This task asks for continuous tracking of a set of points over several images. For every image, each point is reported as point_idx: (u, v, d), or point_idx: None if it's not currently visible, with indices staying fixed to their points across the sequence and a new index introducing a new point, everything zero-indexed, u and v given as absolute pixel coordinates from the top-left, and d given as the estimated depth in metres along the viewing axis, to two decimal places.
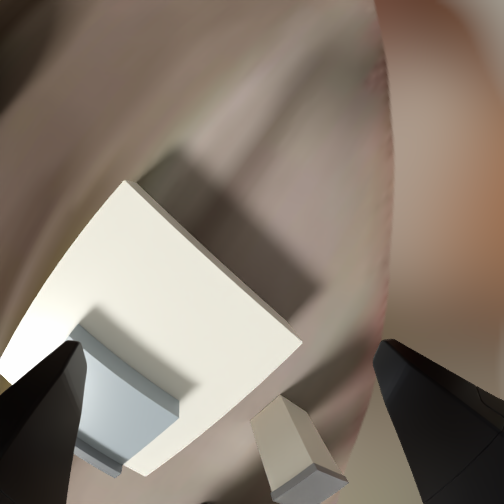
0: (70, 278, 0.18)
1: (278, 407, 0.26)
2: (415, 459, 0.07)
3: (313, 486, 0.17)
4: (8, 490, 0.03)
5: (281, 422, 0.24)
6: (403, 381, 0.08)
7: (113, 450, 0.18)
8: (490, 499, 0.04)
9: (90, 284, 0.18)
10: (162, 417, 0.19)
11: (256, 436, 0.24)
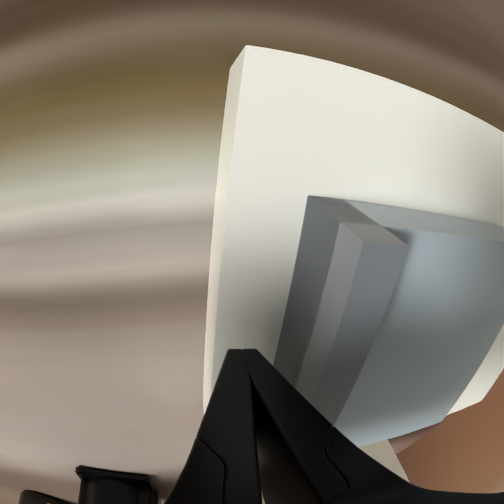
0: None
1: None
2: (266, 496, 0.06)
3: None
4: None
5: (383, 455, 0.18)
6: None
7: None
8: None
9: None
10: (439, 414, 0.11)
11: None
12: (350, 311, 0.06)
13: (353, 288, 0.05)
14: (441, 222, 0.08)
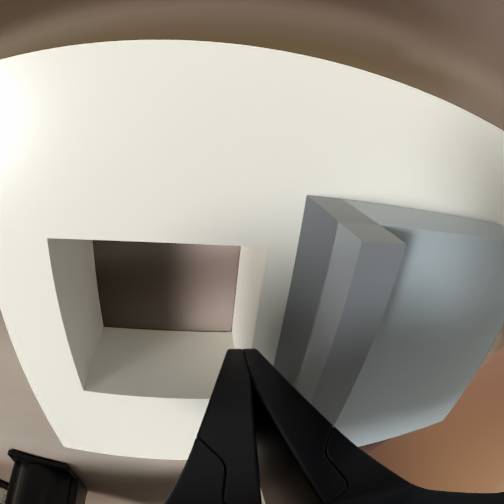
0: (403, 127, 0.07)
1: None
2: (266, 496, 0.06)
3: None
4: None
5: None
6: None
7: None
8: None
9: (413, 176, 0.08)
10: (440, 413, 0.11)
11: None
12: (349, 310, 0.06)
13: (352, 287, 0.05)
14: (441, 221, 0.08)
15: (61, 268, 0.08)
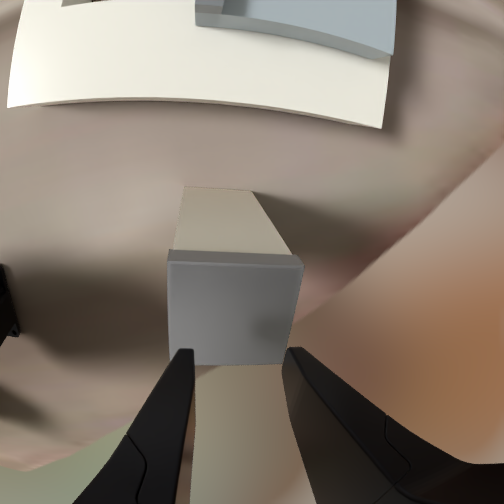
0: None
1: (243, 195, 0.18)
2: (317, 488, 0.06)
3: (252, 304, 0.10)
4: None
5: (241, 204, 0.16)
6: (301, 397, 0.07)
7: None
8: None
9: None
10: (380, 33, 0.10)
11: (185, 197, 0.16)
12: None
13: None
14: None
15: None
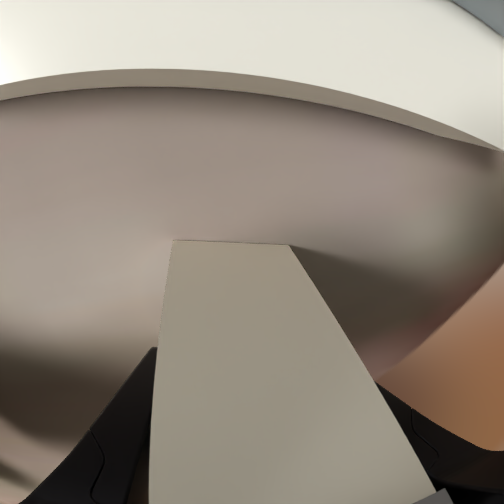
0: None
1: (279, 260, 0.10)
2: None
3: None
4: None
5: (282, 292, 0.08)
6: None
7: None
8: None
9: None
10: None
11: (174, 276, 0.08)
12: None
13: None
14: None
15: None
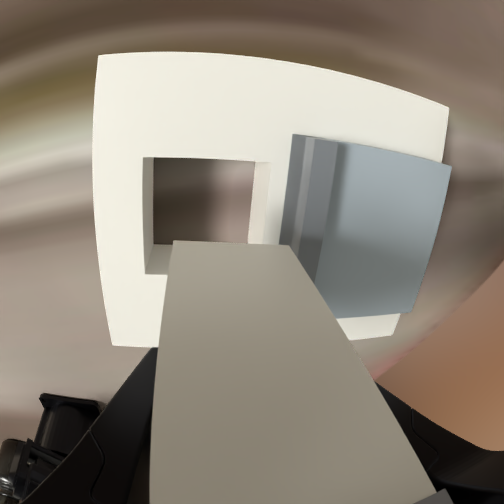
0: (345, 97, 0.14)
1: (279, 261, 0.10)
2: None
3: None
4: None
5: (283, 292, 0.08)
6: None
7: (322, 296, 0.16)
8: None
9: (354, 125, 0.14)
10: (406, 301, 0.17)
11: (175, 277, 0.08)
12: (313, 174, 0.12)
13: (313, 161, 0.12)
14: None
15: (144, 181, 0.15)
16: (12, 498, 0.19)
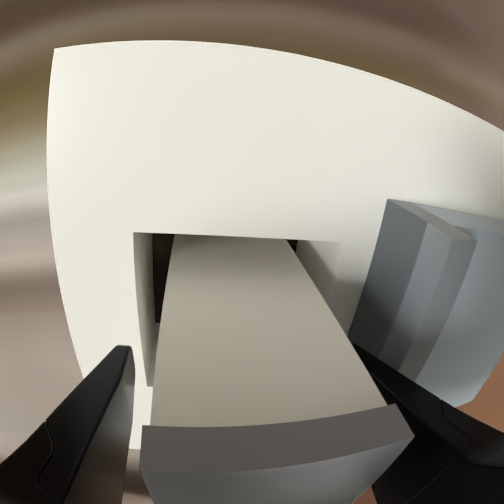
0: (452, 142, 0.08)
1: None
2: None
3: (310, 493, 0.04)
4: None
5: (267, 258, 0.10)
6: None
7: None
8: None
9: (457, 183, 0.09)
10: (472, 392, 0.12)
11: (178, 246, 0.10)
12: (437, 292, 0.07)
13: (442, 274, 0.06)
14: (484, 222, 0.08)
15: (138, 263, 0.09)
16: None
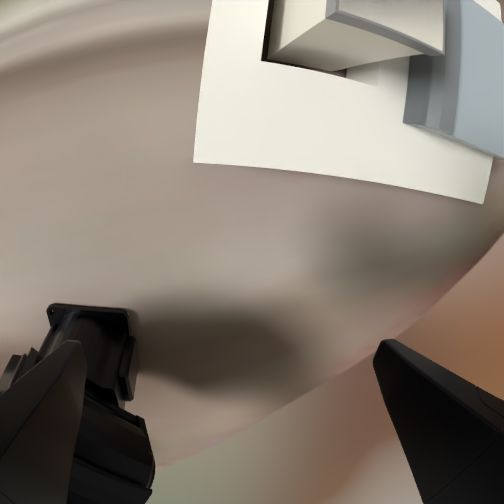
0: None
1: None
2: (415, 459, 0.07)
3: None
4: (8, 490, 0.03)
5: None
6: (403, 381, 0.08)
7: (456, 110, 0.12)
8: (490, 499, 0.04)
9: None
10: None
11: None
12: None
13: None
14: None
15: None
16: None
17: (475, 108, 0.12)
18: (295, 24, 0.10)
